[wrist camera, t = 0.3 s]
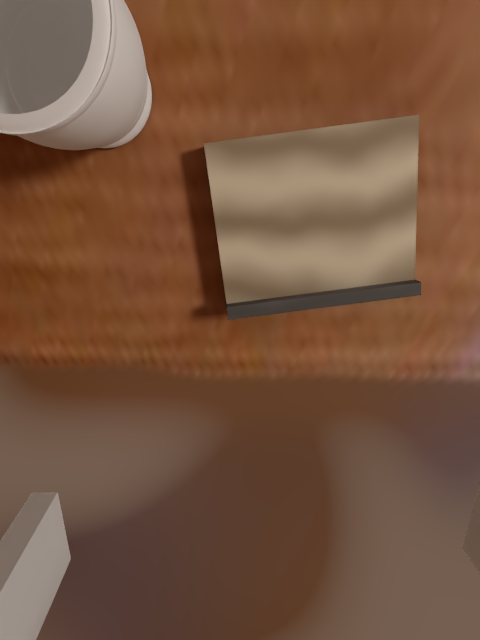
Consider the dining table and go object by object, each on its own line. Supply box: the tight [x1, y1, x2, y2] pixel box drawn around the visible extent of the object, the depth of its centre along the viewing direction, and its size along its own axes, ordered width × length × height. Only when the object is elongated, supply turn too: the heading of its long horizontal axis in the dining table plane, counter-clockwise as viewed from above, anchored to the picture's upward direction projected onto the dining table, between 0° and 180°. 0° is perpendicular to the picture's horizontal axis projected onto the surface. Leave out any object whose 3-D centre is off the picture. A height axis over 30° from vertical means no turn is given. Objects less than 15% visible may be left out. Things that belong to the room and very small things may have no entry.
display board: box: [204, 115, 421, 320], centre depth 33 cm, size 15×18×3 cm
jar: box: [0, 0, 152, 150], centre depth 24 cm, size 11×10×15 cm
